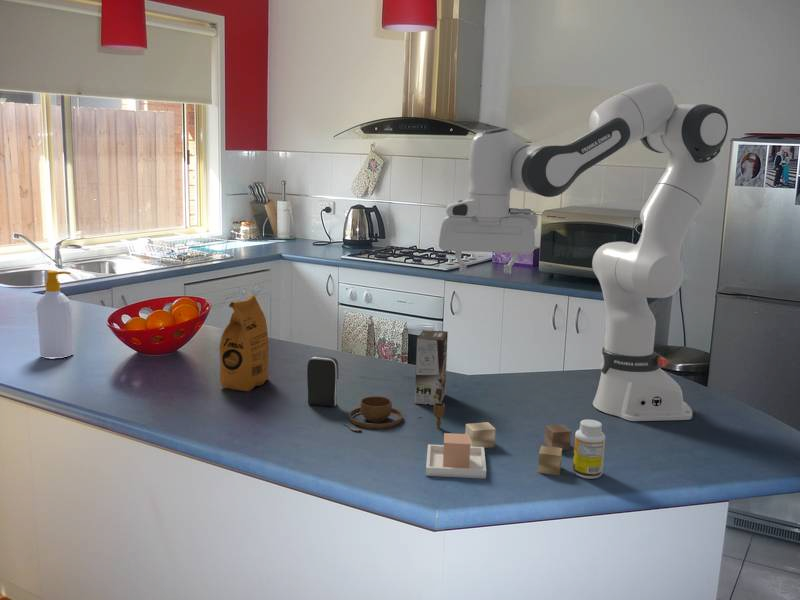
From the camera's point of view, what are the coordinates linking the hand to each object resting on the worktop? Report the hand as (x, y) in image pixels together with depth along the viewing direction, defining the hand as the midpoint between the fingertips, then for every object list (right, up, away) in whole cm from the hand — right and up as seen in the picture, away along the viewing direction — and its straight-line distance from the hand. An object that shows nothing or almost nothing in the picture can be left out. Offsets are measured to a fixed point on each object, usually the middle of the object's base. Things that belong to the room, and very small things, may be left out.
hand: (485, 272), depth 165 cm
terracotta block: (-7, -37, -15) cm, 41 cm away
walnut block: (+14, -36, -5) cm, 39 cm away
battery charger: (-36, -30, +17) cm, 50 cm away
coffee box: (-11, -30, +22) cm, 39 cm away
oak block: (+11, -39, -16) cm, 43 cm away
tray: (-7, -38, -15) cm, 41 cm away
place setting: (-21, -34, +5) cm, 40 cm away
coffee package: (-57, -27, +30) cm, 70 cm away
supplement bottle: (+18, -39, -17) cm, 46 cm away
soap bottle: (-113, -22, +50) cm, 126 cm away
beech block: (-2, -36, -5) cm, 36 cm away
